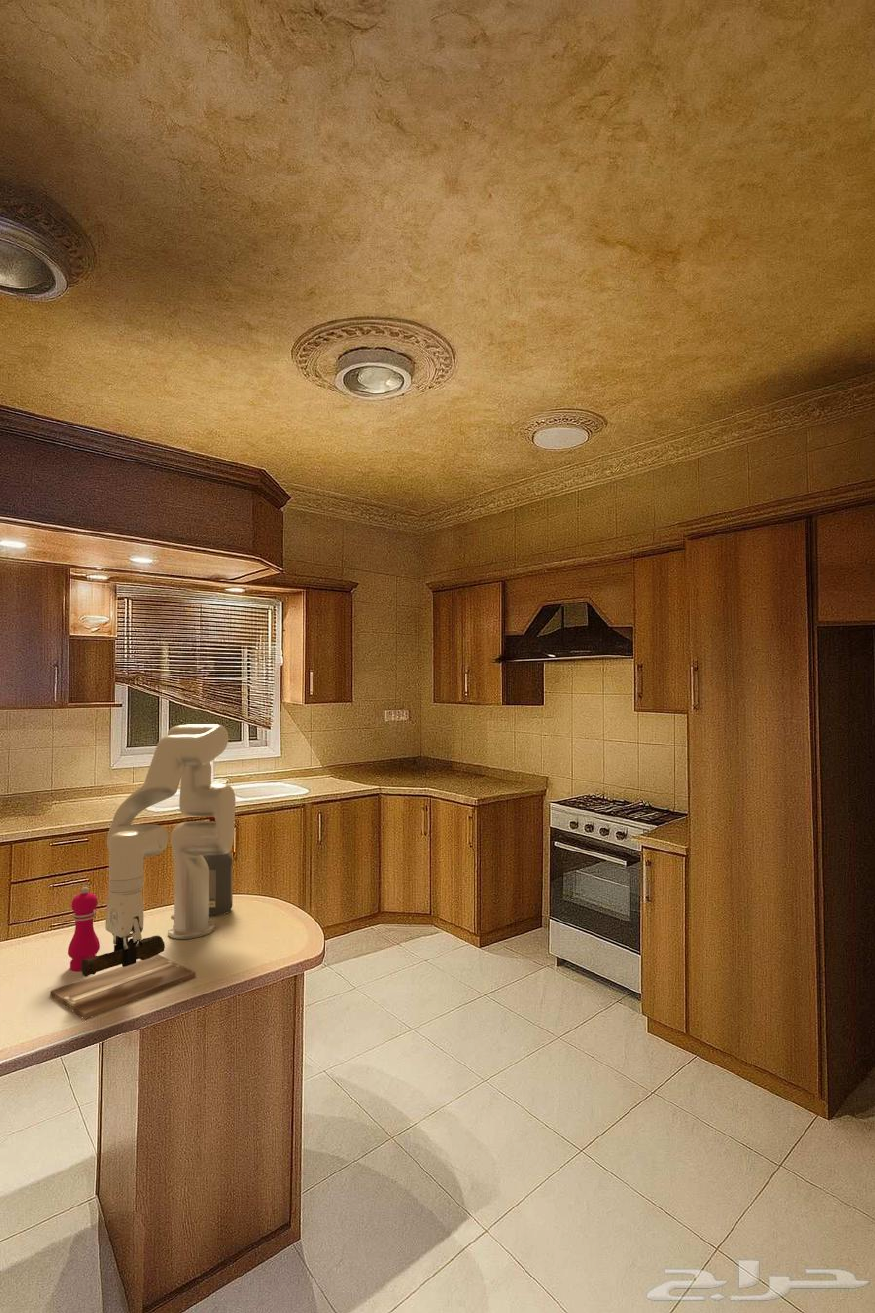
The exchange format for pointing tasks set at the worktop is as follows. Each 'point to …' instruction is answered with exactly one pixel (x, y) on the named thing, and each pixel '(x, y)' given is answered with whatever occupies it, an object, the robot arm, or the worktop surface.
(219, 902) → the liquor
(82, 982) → the board
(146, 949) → the hand tool
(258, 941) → the worktop surface
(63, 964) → the worktop surface
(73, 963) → the pepper mill
